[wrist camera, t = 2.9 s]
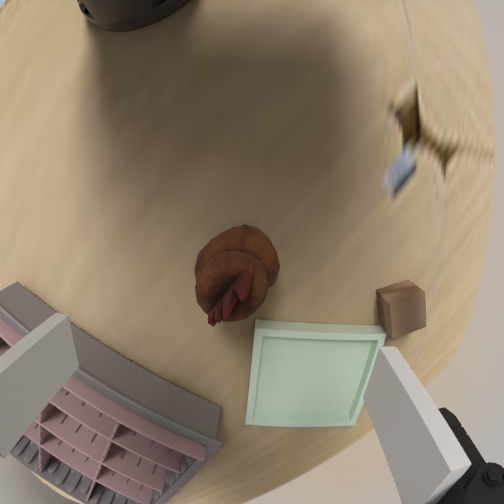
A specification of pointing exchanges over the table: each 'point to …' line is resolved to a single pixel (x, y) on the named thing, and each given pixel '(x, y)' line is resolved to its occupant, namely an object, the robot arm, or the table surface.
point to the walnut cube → (401, 308)
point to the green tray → (310, 373)
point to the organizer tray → (109, 421)
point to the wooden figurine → (235, 274)
